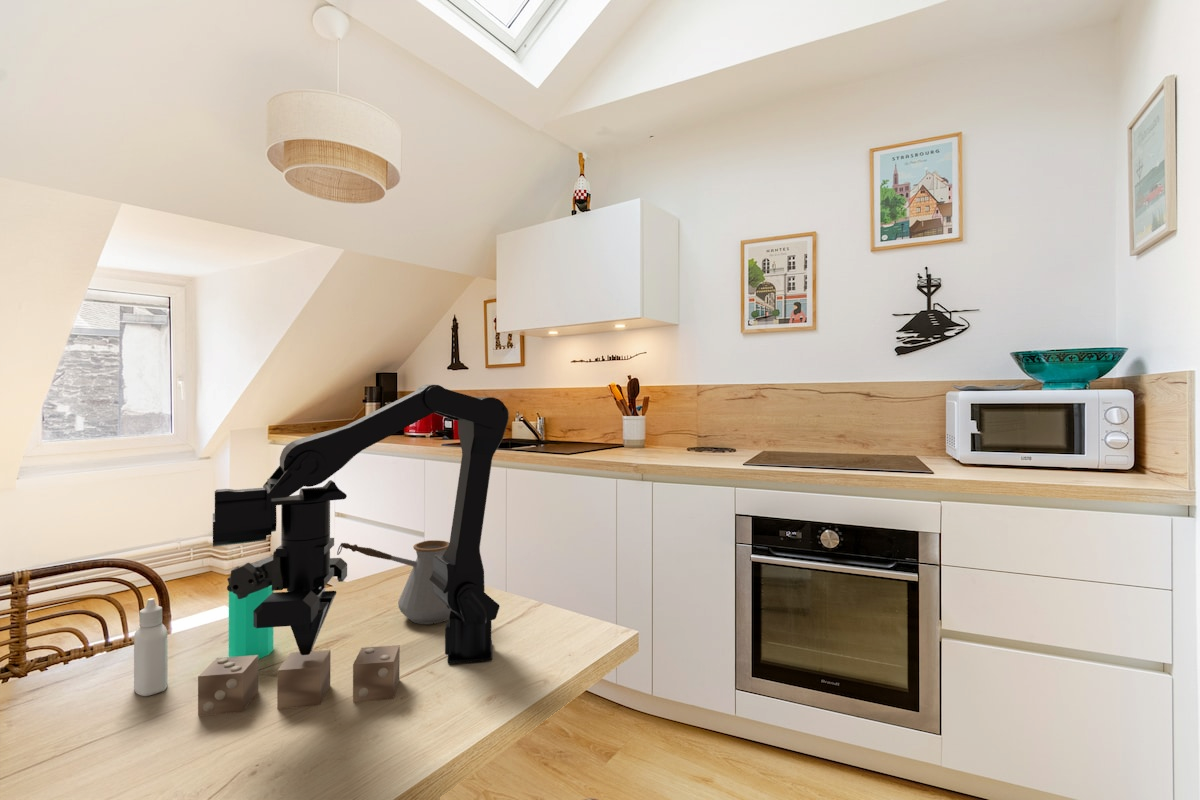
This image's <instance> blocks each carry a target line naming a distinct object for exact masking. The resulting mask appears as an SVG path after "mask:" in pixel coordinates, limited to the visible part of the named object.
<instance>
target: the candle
mask: <svg viewBox="0 0 1200 800" xmlns="http://www.w3.org/2000/svg"><path fill="white" fill-rule="evenodd" d="M272 593H274V591H272V585H271V586H269V587H267V588H264V589H261V590H259V591H256V592H254V593H251V594H249V595H248V596H247V597H245V598H242V599H238V598H237V595H236V594H234V593H233V592H230V591H228V657H237V656H251V655H258V660H259V659H262V658H265V657H267V656H269V655H270V654H271V653H272V652H273V651H274V627H267V628H255V627H253V611H254V610H255V609H256V608H257V607H258V606H259V605H260V604H261V603H262V602H263V601H264V600H265V599H266V598H267V597H269V596H270V595H271V594H272Z"/></svg>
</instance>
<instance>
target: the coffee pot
mask: <svg viewBox="0 0 1200 800" xmlns="http://www.w3.org/2000/svg"><path fill="white" fill-rule="evenodd" d="M449 543H450V541H445V540H437V539H436V540H424V541H421V542H417V543H415V544H414V545H413V550H414V551H416V552H415V553H416V560H411V559H408V558H403V557H399V556H395V555H392V554H389V553H386V552H383V551H381V550H376V549H374V548H371V547H362V546H358V544H350V543H348V542H341V543H340V545H339V546H338V549H337V553H336V555H337V556H339V555H340V554H341V552H342V550H343V549H346V550H348V549H349V550H351V551H352V552H358V553H361V554H363V555H365V556H368V557H369V556H370V557H374V558H378V559H383V560H388V561H393V562H397V563H399V564H404V565H407V566H411V567H412V568H411V571H410V573H409V576H408V578H407V581H406V583H405V585H404V587H403V589H402V592H401V595H400V596H399V599H398V602H397V604H398V608H399V611H400V612H401V614H402V615H404V616H405V617H406V618H407V619H409V621H410V622H412V623H414V624H417V625H418V624H419V625H433V623H434V624H440V623H443V621H444V622H447V621H449V617H450V611H452V610H450V609H448V608H447V606H446V604H445V603H444V602H443V601H442V600H441V599H440V598H439V597H438V596H437V595H436V594H435V592H434V589H433V583H431V582H430V581H429V579H430V578H431V576H432V573H433V559H434V555H439V556H443V555H444V553H445V551H446V549H447V548H448V546H449Z"/></svg>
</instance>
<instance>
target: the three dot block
mask: <svg viewBox="0 0 1200 800" xmlns="http://www.w3.org/2000/svg"><path fill="white" fill-rule="evenodd" d="M258 692H259V659H258V655H251V656H237V657H229V656H226V657H216V658H215V659H214V660H212V662H211V663H210V664H209V665H208V666H207V667H206V668H205V669H204V670H203V671H202V672H201V673H200V674H199V675H198V676H197V717H200V716H201V717H202V716H213V715H214V716H215V715H223V714H237V713H243V712H244V711H245V709H246V708H247V707H248V706H249V704H251V702H252V701H253V699H254V697H256V695H257V694H258Z"/></svg>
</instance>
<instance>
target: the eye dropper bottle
mask: <svg viewBox="0 0 1200 800" xmlns="http://www.w3.org/2000/svg"><path fill="white" fill-rule="evenodd" d="M156 604H157V603H156V600H155V598H154V597H153V598H152V597H151V598H148V599H147V601H146V606H145V607H144V608H142V609H141V610H139V614H138V615H139V617H138V618H139V620H138V621H139V627H138V628H137V629H136V630H135V632H134V636H133V688H134V692H135V693H136V694H137V695H138V696H142V697H149V696H153V695H156V694H160V693H162V692H164V691H166V689H167V687H168V681H169V680H168V676H169V675H168V673H169V672H168V662H169V661H168V658H169V657H168V654H169V652H168V643H169V642H168V640H169V639H168V630H167V627H166V625H165V624H164V623H163V607H162V606H160V605H156Z"/></svg>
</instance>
